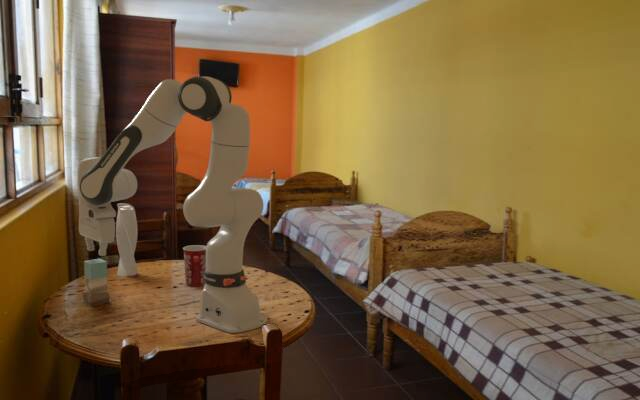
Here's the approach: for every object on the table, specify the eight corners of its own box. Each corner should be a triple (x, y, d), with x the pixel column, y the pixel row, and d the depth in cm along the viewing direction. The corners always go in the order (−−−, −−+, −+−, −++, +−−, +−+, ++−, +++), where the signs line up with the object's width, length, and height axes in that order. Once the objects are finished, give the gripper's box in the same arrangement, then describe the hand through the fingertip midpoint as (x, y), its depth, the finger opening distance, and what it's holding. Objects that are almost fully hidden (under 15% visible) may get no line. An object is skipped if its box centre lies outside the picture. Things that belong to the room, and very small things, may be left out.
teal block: (107, 277, 159) (106, 261, 158) (91, 280, 155) (90, 264, 154) (100, 273, 162) (100, 258, 161) (84, 276, 158) (84, 260, 158)
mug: (183, 280, 186) (183, 244, 184) (208, 279, 189) (208, 244, 187) (182, 291, 174) (182, 253, 172) (208, 290, 176) (209, 253, 174)
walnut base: (109, 301, 160) (109, 292, 159) (90, 305, 156) (89, 296, 155) (102, 296, 164) (101, 287, 163) (83, 300, 160) (82, 291, 159)
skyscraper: (127, 279, 185) (126, 204, 181) (111, 276, 188) (110, 202, 184) (142, 273, 192) (141, 201, 188) (126, 271, 195) (125, 200, 191)
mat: (119, 304, 159) (119, 302, 159) (87, 311, 152) (87, 309, 152) (104, 294, 168) (104, 292, 167) (73, 301, 161) (73, 299, 160)
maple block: (107, 292, 159) (106, 277, 159) (91, 295, 156) (90, 279, 155) (101, 288, 163) (100, 273, 162) (85, 291, 159) (84, 276, 159)
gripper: (72, 206, 161) (74, 249, 163) (96, 214, 146) (98, 260, 148) (92, 205, 165) (94, 246, 167) (118, 212, 151) (119, 256, 152)
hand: (96, 253), depth 157 cm, fingers open, 8 cm apart
